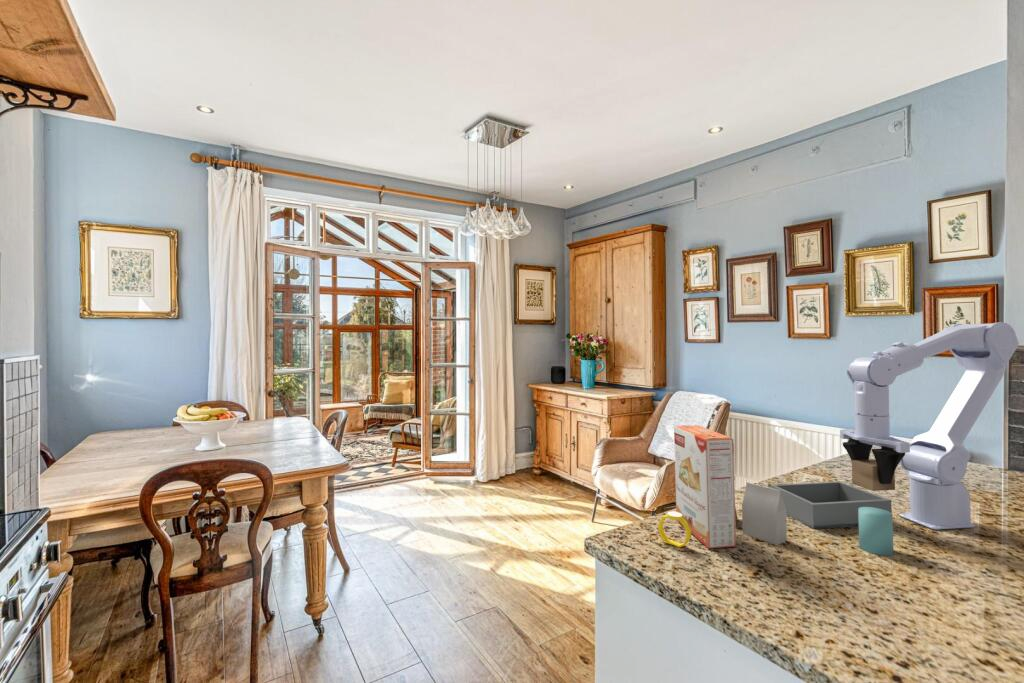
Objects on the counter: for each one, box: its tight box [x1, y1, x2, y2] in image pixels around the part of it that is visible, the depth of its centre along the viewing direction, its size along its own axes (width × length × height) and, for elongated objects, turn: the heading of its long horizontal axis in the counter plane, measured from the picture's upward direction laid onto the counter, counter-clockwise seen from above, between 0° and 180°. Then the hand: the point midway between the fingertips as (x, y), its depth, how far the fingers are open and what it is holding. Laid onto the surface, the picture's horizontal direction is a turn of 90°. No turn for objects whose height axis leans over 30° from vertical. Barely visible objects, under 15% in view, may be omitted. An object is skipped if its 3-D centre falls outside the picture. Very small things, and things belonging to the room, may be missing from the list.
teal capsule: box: [858, 507, 894, 557], centre depth 86 cm, size 5×5×7 cm
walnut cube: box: [851, 458, 896, 492], centre depth 98 cm, size 5×5×5 cm
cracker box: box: [673, 424, 737, 549], centre depth 95 cm, size 14×6×21 cm, turn 5°
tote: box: [769, 480, 893, 530], centre depth 104 cm, size 18×14×5 cm
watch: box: [657, 511, 692, 548], centre depth 90 cm, size 6×3×6 cm, turn 46°
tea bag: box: [741, 482, 788, 546], centre depth 93 cm, size 4×7×10 cm, turn 33°
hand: (873, 479), depth 98 cm, fingers closed on walnut cube, 5 cm apart
